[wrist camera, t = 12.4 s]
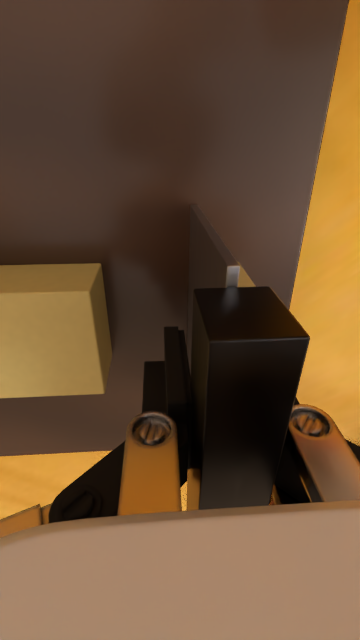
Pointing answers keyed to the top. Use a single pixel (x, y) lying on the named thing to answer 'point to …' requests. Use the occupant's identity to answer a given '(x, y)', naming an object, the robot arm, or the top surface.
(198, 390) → the black and grey block
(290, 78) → the board
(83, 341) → the butter block
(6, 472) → the top surface
